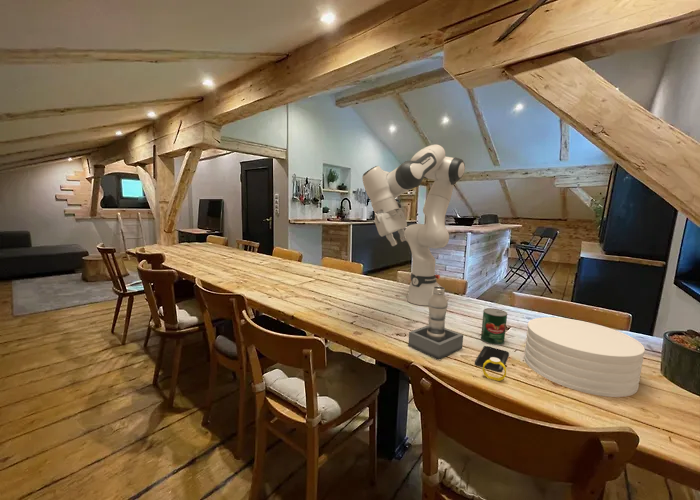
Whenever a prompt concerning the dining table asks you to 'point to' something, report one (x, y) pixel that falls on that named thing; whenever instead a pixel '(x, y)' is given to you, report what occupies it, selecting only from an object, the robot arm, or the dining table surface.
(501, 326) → the canned tomato
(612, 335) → the plate stack
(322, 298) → the dining table surface
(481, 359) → the phone
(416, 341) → the tray
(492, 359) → the watch
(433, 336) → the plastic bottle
